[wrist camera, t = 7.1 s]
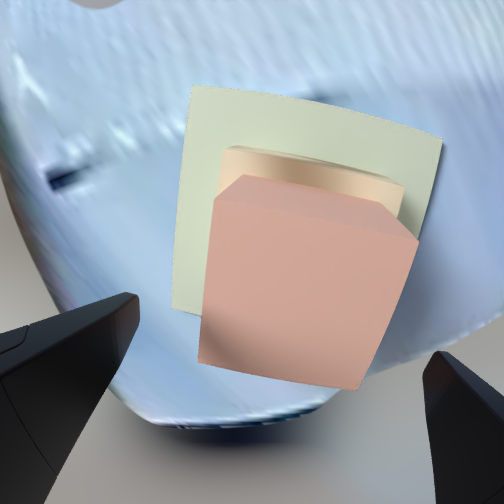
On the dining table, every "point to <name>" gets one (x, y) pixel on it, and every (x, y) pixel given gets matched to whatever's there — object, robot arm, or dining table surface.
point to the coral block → (300, 282)
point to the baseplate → (288, 141)
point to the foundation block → (309, 174)
